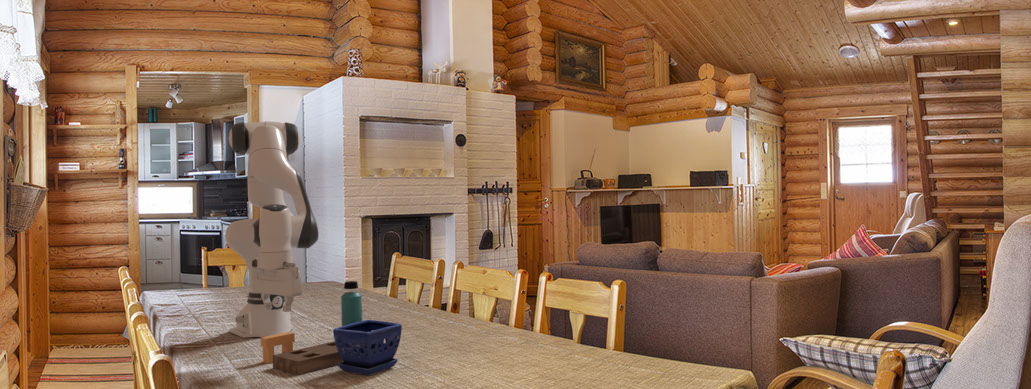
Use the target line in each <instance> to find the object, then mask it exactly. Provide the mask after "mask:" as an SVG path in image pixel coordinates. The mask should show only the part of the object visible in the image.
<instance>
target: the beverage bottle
mask: <svg viewBox="0 0 1031 389" xmlns="http://www.w3.org/2000/svg"><path fill="white" fill-rule="evenodd" d="M358 283H359V282H358V281H355V280H350V281H345V282H344V286H343V289H344V290H354V289H356V290H357V289H358V288H359V284H358ZM362 297H363V295H362V294H361V293H360V292H359V291H346V292H344V293H342V295H341V297H340V300H341V303H340V304H341V306H340V307H341V308H340V309H341V324H340V326H345V325H349V324H352V323H356V322H360V321H364V319H363V306H362V305H363V302H362V301H363V299H362Z"/></svg>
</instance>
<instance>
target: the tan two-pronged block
mask: <svg viewBox="0 0 1031 389" xmlns="http://www.w3.org/2000/svg"><path fill="white" fill-rule="evenodd" d="M295 341H296V339H295V332H291V331H290V332H286V333H281V334H276V335H271V336H266V337H260V347H262V361H263V363H266V364H273V355H275V347H276V346H281V353H285V352H289V351H294V343H295Z"/></svg>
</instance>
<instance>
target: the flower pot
mask: <svg viewBox="0 0 1031 389" xmlns="http://www.w3.org/2000/svg"><path fill="white" fill-rule="evenodd" d="M332 330H333V331H332V332H333V334H332V335H333V340H334V341H335V344H336V347H337V350H338V352H339V354H340V356H341V358H342V359H343V361H344V362H342V363H339V364H338V365H337V366H338V367H339V369H341V371H343V372H348V373H353V374H358V375H361V376H362V375H363V376H371V375H374V374H377V373H381V372H384V371H386V370H389V369H391V368H393V367H394V366H395V365H396V364H397V362H398V358H394V357H395V355H396V353H397V351H398V348H399V346H400V342H401V337H402V324H401V323H398V322H390V321H382V320H375V319H374V320H373V319H363V321H360V322H356V323H352V324H349V325H345V326H342V325H340V326H339V327H336V328H334V329H332ZM343 349H344V351H343Z"/></svg>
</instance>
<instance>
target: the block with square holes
mask: <svg viewBox="0 0 1031 389" xmlns="http://www.w3.org/2000/svg"><path fill="white" fill-rule="evenodd" d="M343 351H344V349H343ZM342 362H344V361H343V359H342V358H341V356H340V354H339V352H338V350H337V347H336V344H335V340H334V341H331V342H325V343H321V344H317V345H313V346H308V347H303V348H299V349H295V350H294V349H293V351H289V352H285V353H282V352H281V353H276V354H274V355H273V363H272V369H275V370H280V371H283V372H287V373H290V374H292V375H293V374H294V375H298V376H300V375H304V374H308V373H312V372H316V371H319V370H323V369H328V368H331V367H335V366H338V364H339V363H342Z"/></svg>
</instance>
